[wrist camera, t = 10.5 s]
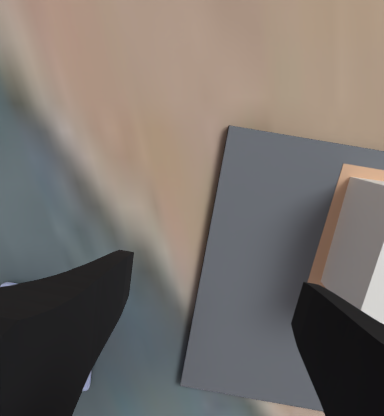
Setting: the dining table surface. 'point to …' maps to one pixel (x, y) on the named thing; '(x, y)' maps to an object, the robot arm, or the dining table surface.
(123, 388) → the dining table surface
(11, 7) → the dining table surface
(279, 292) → the mat
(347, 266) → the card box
